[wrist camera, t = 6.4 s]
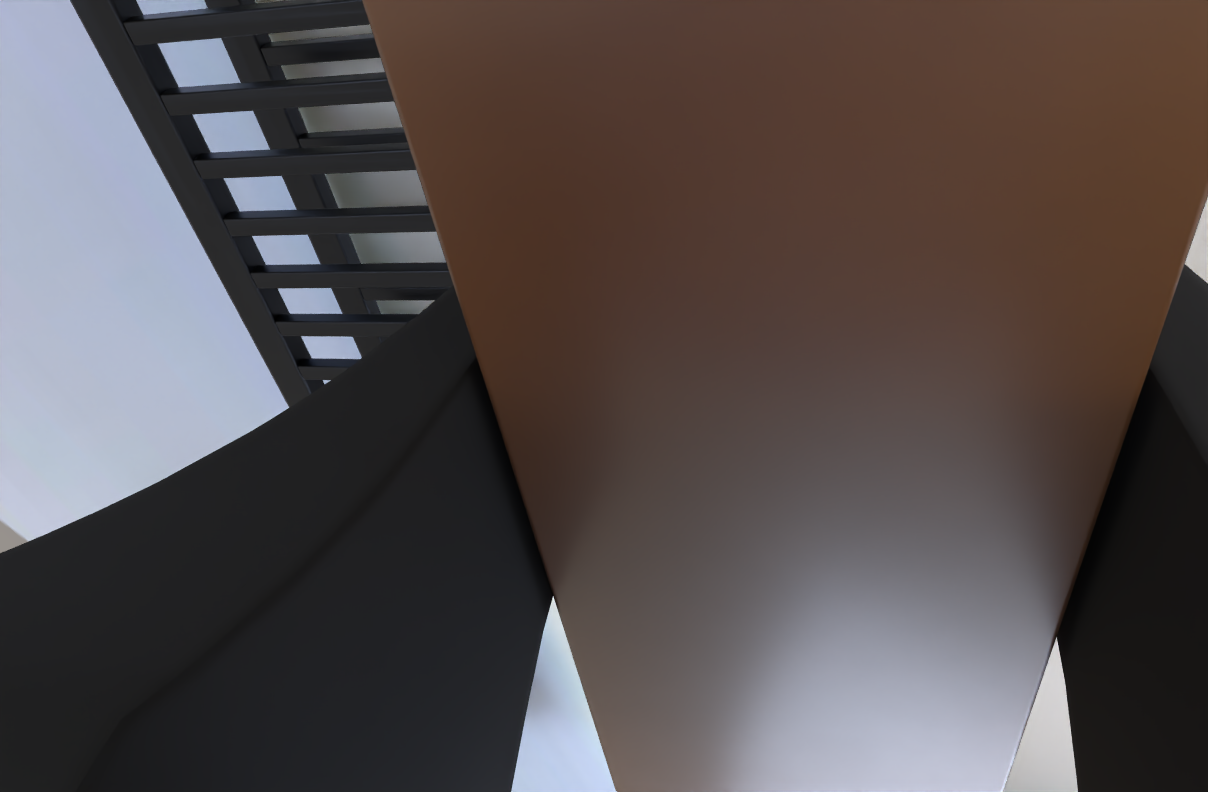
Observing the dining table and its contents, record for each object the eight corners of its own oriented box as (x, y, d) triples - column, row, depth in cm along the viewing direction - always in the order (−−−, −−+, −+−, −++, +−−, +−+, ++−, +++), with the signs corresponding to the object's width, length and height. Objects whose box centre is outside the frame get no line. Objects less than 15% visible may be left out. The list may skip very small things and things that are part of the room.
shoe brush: (1123, -468, 6) (1444, -473, 3) (953, 511, 14) (986, 847, 10) (546, -358, 8) (271, -265, 4) (672, 496, 15) (615, 794, 11)
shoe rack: (761, -451, 13) (724, -446, 9) (784, 388, 23) (771, 534, 20) (115, -312, 15) (-97, -270, 12) (400, 380, 26) (331, 506, 23)
